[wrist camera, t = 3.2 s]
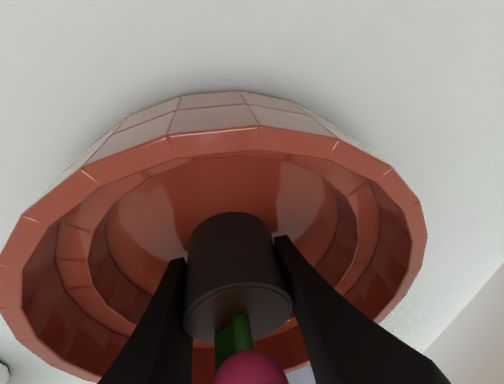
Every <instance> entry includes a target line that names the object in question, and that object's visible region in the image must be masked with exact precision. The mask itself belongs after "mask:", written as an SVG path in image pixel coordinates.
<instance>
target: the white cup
mask: <svg viewBox="0 0 504 384" xmlns="http://www.w3.org/2000/svg"><path fill="white" fill-rule="evenodd" d="M9 378H10V376H9V372H8V368H7V367H6V366H5V365H3V364H1V363H0V384H7V382H8V380H9Z"/></svg>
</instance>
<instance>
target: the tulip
mask: <svg viewBox="0 0 504 384" xmlns="http://www.w3.org/2000/svg"><path fill="white" fill-rule="evenodd" d="M292 311H293V300H292V296H291V293H290V290H289V287H288V284H287V281H286V278H285V275H284V272H283V269H282V266H281V263H280V260H279V257H278V254H277V251H276V248H275V245H274V242H273V239H272V236H271V233H270V230H269V228H268V226H267V225H266V224H265V223H264V222H263V221H262V220H261V219H259V218H258V217H256V216H254V215H251V214H248V213H243V212H226V213H221V214H217V215H214V216H212V217H210V218H208V219H206V220H204V221H203V222H201V223H200V224H199V225H198V226H197V227H196V228H195V229H194V231H193V232H192V234H191V236H190V238H189V243H188V255H187V267H186V280H185V292H184V305H183V318H182V324H183V327H184V329H185V331H186V332H187V334H188V335H190V336H191V337H192V338H194V339H196V340H198V341H201V342H204V343H208V344H214V346H215V375H214V378H213V380H212V383H211V384H289V381H288V378H287V376H286V374H285V372H284V371H283V369H282V368H281V367H280V365H279V364H278V363H277V361H276V360H274V359H273V358H272V357H271V356H269V355H268V354H266V353H264V352H262V351H258V350H254V347H253V340H256V339H259V338H262V337H264V336H266V335H268V334H270V333H272V332H274V331H275V330H277V329H278V328H280V327H281V326H282V325H283V324H284V323H285V322H286V321H287V320H288V319H289V317H290V316H291V314H292Z"/></svg>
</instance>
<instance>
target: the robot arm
mask: <svg viewBox="0 0 504 384" xmlns="http://www.w3.org/2000/svg"><path fill="white" fill-rule="evenodd" d="M274 244H275V248H276V251H277V254H278V257H279V260H280V263H281V266H282V269H283V272H284V275H285V278H286V281H287V284H288V287H289V290H290V293H291V296H292V300H293V313H294V315H295V318H296V321H297V323H298V326H299V328H300V331H301V334H302V337H303V340H304V344H305V347H306V350H307V354H308V357H309V361H310V365H308V366H305V367H303V368H301V369H298V370H296V371H292V372H289V373H286V376H287V378H288V381H289V384H451V383H450V381H449V380H448V379H447V378H446V377H445V375H444V374H443V373H442V372H441V370H440V369H439V368H438V367H437V366H436V365H435V363H433V361H432V360H430V359H429V358H427V357H426V356H424V355H422V354H421V353H419V352H418V351H416V350H415V349H413V348H412V347H410V346H408V345H407V344H405V343H404V342H402V341H401V340H399V339H398V338H397V337H395V336H394V335H392V334H391V333H389V332H388V331H386V330H385V329H384V328H382V327H381V326H380V325H378V324H377V323H376V322H374V321H373V320H372V319H370V318H369V317H368V316H366V315H365V314H364V313H362V312H361V311H360V310H359V309H357V308H356V307H355V306H354V305H353V304H351V303H350V302H349V301H348V300H347V299H345V298H344V297H343V296H342V295H341V294H340V293H339V292H337V291H336V290H335V289H334V288H333V287H332V286H331V285H330V284H329V283H328V282H327V281H326V280H325V279H324V278H323V277H322V276H321V275H320V274H319V273H318V272H317V271H316V270H315V269H314V268H313V267H312V265H311V264H310V263H309V262H308V261H307V260H306V259H305V258H304V256H303V255H302V254H301V253H300V251H299V250H298V249H297V248H296V246H295V245H294V244H293V242H292V241H291V240H290V238H289V237H288V235H281V236H277V237H274ZM186 267H187V263H186V261H185V259H184V257H181V258H176V259H172V260H170V262H169V264H168V266H167V268H166V270H165V272H164V275H163V277H162V279H161V281H160V283H159V285H158V287H157V289H156V291H155V293H154V295H153V297H152V299H151V301H150V303H149V305H148V306H147V308H146V310H145V312H144V314H143V315H142V317H141V319H140V321H139V322H138V324H137V326H136V327H135V329H134V331H133V332H132V334H131V336H130V337H129V339H128V340H127V342H126V343H125V345H124V346H123V348H122V349H121V351H120V353H119V354H118V355H117V357H116V358H115V360H114V361H113V363H112V364H111V365H110V367H109V368H108V370H107V371H106V372H105V374H104V375H103V377H102V378H101V379H100V381H99V382H98V383H97V384H192V351H193V338H192V337H191V336H190V335H188V334H187V332H186V331H185V329H184V327H183V324H182V318H183V305H184V292H185V280H186Z"/></svg>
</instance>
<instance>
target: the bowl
mask: <svg viewBox="0 0 504 384" xmlns="http://www.w3.org/2000/svg"><path fill="white" fill-rule="evenodd" d="M226 212H243V213H248V214H251V215H254V216H256V217H258V218H259V219H261V220H262V221H263V222H264V223H265V224H266V225H267V226H268V228H269V230H270V233H271V236H272V239H273V242H274V237H277V236H281V235H288V237H289V238H290V240H291V241H292V242H293V244H294V245H295V246H296V248H297V249H298V250H299V251H300V253H301V254H302V255H303V256H304V258H305V259H306V260H307V261H308V262H309V263H310V264H311V265H312V267H313V268H314V269H315V270H316V271H317V272H318V273H319V274H320V275H321V276H322V277H323V278H324V279H325V280H326V281H327V282H328V283H329V284H330V285H331V286H332V287H333V288H334V289H335V290H336V291H337V292H339V293H340V294H341V295H342V296H343V297H344V298H345V299H347V300H348V301H349V302H350V303H351V304H353V305H354V306H355V307H356V308H357V309H359V310H360V311H361V312H362V313H364V314H365V315H366V316H368V317H369V318H370V319H372V320H373V321H374V322H376V323H377V324H378V323H380V322H381V321H382V320H383V319H385V318H386V316H387V315H388V314H389V313H390V312H391V311H392V310H393V309H394V308H395V307H396V305H397V304H398V303H399V302H400V301H401V300H402V299H403V298H404V297H405V295H406V294H407V292H408V290H409V288H410V287H411V285H412V283H413V281H414V280H415V278H416V276H417V274H418V272H419V271H420V269H421V266H422V262H423V257H424V252H425V247H426V242H427V230H426V226H425V221H424V217H423V213H422V208H421V204H420V201H419V199H418V197H417V196H416V195H415V194H414V193H413V191H412V190H411V189H410V188H409V186H408V185H407V184H406V183H405V182H404V180H403V179H402V178H401V177H400V175H399V174H398V173H397V172H396V171H395V169H394V168H393V167H392V166H391V165H390V164H388V163H387V162H385V161H384V160H383V159H381V158H380V157H378V156H377V155H376V154H374V153H373V152H371V151H370V150H368V149H367V148H366V147H364V146H363V145H361V144H360V143H359V142H357V141H356V140H354V139H353V138H352V137H350V136H349V135H347V134H346V133H345V132H343V131H342V130H340V129H339V128H338V127H336V126H335V125H333V124H332V123H330V122H329V121H327V120H325V119H323V118H321V117H320V116H318V115H316V114H314V113H312V112H310V111H309V110H307V109H305V108H303V107H301V106H300V105H298V104H296V103H294V102H291V101H289V100H284V99H279V98H274V97H269V96H264V95H259V94H254V93H249V92H244V91H239V92H238V91H230V92H219V93H207V94H195V95H184V96H183V97H181V96H179V97H176V98H174V99H171V100H169V101H166V102H163V103H161V104H158V105H156V106H153V107H150V108H148V109H145V110H143V111H140V112H137V113H135V114H132V115H130V116H129V117H126V118H125V119H124V120H123V121H121V122H120V123H119V124H118V125H116V126H115V127H114V128H113V129H111V130H110V131H109V132H108V133H106V134H105V135H104V136H103V137H102V138H100V139H99V140H98V141H97V142H95V143H94V144H93V145H92V146H90V147H89V148H88V149H87V150H86V151H85V152H84V153H83V154H82V155H81V156H80V157H79V158H78V159H77V160H76V161H75V162H74V163H73V164H72V165H71V166H70V167H69V168H68V169H67V170H66V171H65V172H64V173H63V174H62V175H61V176H60V177H59V178H58V179H57V180H56V181H55V182H54V183H53V184H52V185H50V186H49V187H48V188H47V189H46V190H45V191H44V192H43V193H42V194H41V195H40V196H39V197H38V198H37V199H36V200H35V201H34V202H33V203H32V204H31V205H30V206H29V207H28V208H27V209H26V210H25V211H24V212H23V213H22V214H21V216H20V218H19V220H18V222H17V224H16V225H15V227H14V229H13V231H12V233H11V235H10V237H9V238H8V240H7V242H6V244H5V246H4V248H3V250H2V251H1V253H0V313H1V315H2V317H3V318H4V320H5V321H6V323H7V325H8V326H9V328H10V330H11V331H12V333H13V334H14V336H15V338H16V339H17V340H18V341H19V342H20V343H21V344H22V345H24V346H25V347H26V348H28V349H29V350H30V351H32V352H33V353H34V354H35V355H37V356H38V357H39V358H41V359H42V360H43V361H45V362H46V363H47V364H50V366H52V367H55V368H57V369H60V370H62V371H64V372H67V373H69V374H71V375H74V376H76V377H78V378H81V379H83V380H87V381H91V382H95V383H98V382H99V381H100V379H101V378H102V377H103V375H104V374H105V372H106V371H107V370H108V368H109V367H110V365H111V364H112V363H113V361H114V360H115V358H116V357H117V355H118V354H119V353H120V351H121V349H122V348H123V346H124V345H125V343H126V342H127V340H128V339H129V337H130V336H131V334H132V332H133V331H134V329H135V327H136V326H137V324H138V322H139V321H140V319H141V317H142V315H143V314H144V312H145V310H146V308H147V306H148V305H149V303H150V301H151V299H152V297H153V295H154V293H155V291H156V289H157V287H158V285H159V283H160V281H161V279H162V277H163V275H164V272H165V270H166V268H167V266H168V264H169V262H170V260H172V259H176V258H181V257H184V259H185V261H186V263H187V255H188V243H189V238H190V236H191V234H192V232H193V231H194V229H195V228H196V227H197V226H198V225H199V224H200V223H201V222H203V221H204V220H206V219H208V218H210V217H212V216H214V215H217V214H221V213H226ZM274 245H275V244H274ZM253 347H254V350H258V351H262V352H264V353H266V354H268V355H269V356H271V357H272V358H273V359H274V360H276V361H277V363H278V364H279V365H280V367H281V368H282V369H283V371H284V372H285V374H286V373H289V372H292V371H296V370H298V369H301V368H303V367H305V366H308V365H310V361H309V357H308V354H307V350H306V347H305V344H304V340H303V337H302V334H301V331H300V328H299V326H298V323H297V321H296V318H295V315H294V313H293V311H292V314H291V316H290V317H289V319H288V320H287V321H286V322H285V323H284V324H283V325H282V326H281V327H280V328H278V329H277V330H275V331H274V332H272V333H270V334H268V335H266V336H264V337H262V338H259V339H256V340H253ZM214 375H215V346H214V344H208V343H204V342H201V341H198V340H196V339H194V338H193V351H192V384H211V383H212V380H213V378H214Z"/></svg>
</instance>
